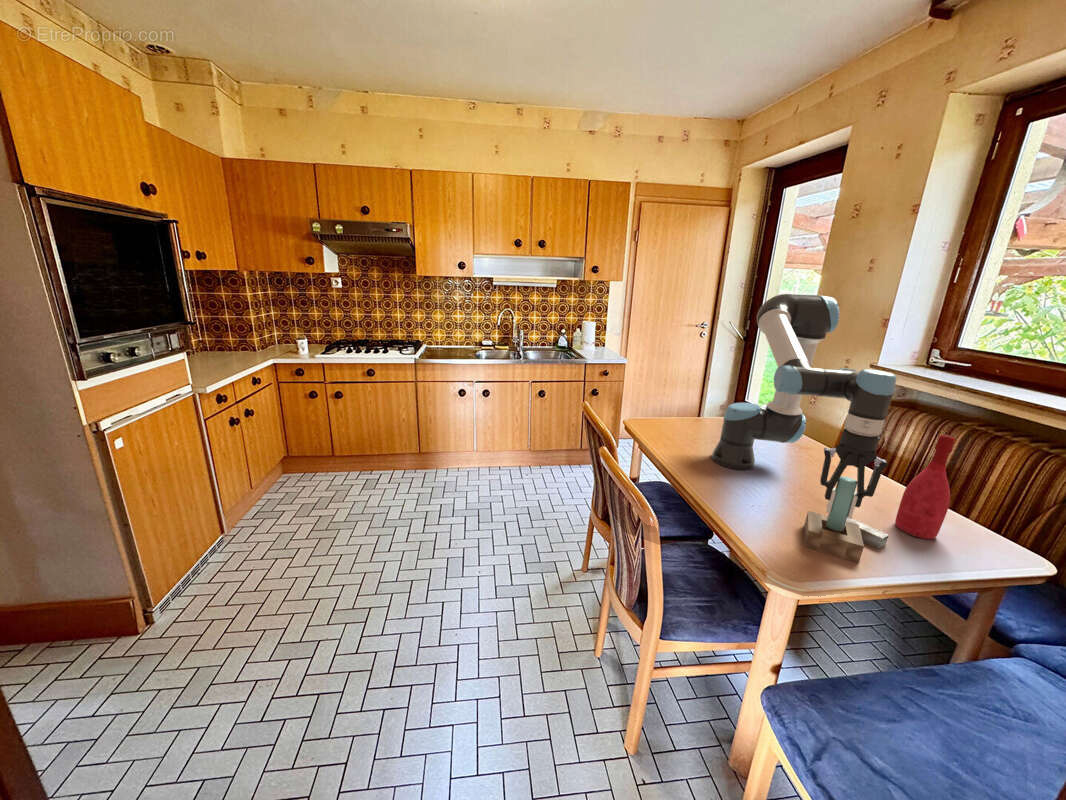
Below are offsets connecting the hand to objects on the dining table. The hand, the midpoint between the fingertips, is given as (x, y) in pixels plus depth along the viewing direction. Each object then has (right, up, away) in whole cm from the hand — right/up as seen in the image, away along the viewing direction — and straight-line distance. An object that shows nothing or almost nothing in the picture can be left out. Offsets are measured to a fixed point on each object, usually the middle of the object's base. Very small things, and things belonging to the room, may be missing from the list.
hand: (838, 513), depth 114 cm
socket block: (0, -9, +3) cm, 9 cm away
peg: (0, -4, +1) cm, 4 cm away
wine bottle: (+30, -8, +11) cm, 33 cm away
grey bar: (+11, -9, +6) cm, 15 cm away
